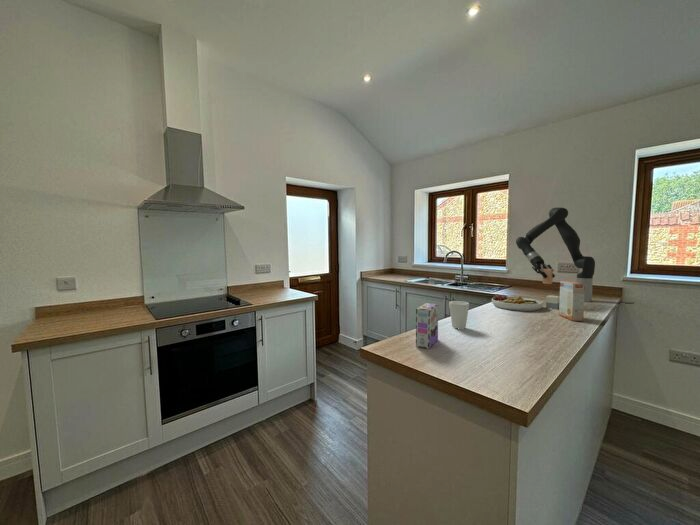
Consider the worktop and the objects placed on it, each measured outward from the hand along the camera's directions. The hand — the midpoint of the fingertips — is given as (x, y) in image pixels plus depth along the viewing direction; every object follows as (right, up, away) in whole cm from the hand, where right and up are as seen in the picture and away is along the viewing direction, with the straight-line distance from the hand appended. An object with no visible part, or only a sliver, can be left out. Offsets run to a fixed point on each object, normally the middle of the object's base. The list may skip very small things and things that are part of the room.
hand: (549, 277), depth 194 cm
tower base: (0, -21, -3) cm, 21 cm away
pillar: (0, -4, +2) cm, 5 cm away
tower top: (0, -17, -4) cm, 17 cm away
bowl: (-22, -21, +1) cm, 31 cm away
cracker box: (-10, -22, -31) cm, 39 cm away
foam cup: (-80, -24, -47) cm, 96 cm away
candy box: (-102, -25, -70) cm, 127 cm away
